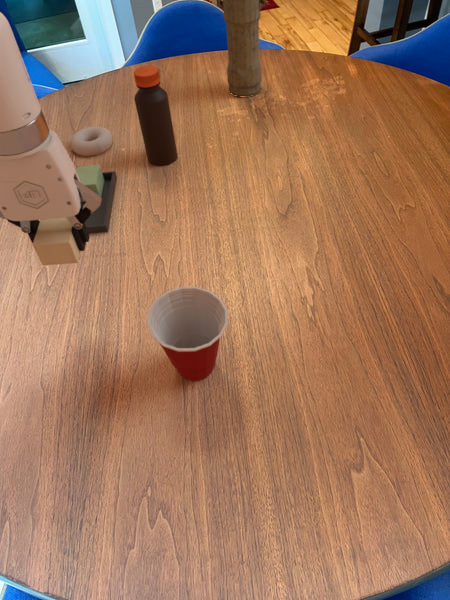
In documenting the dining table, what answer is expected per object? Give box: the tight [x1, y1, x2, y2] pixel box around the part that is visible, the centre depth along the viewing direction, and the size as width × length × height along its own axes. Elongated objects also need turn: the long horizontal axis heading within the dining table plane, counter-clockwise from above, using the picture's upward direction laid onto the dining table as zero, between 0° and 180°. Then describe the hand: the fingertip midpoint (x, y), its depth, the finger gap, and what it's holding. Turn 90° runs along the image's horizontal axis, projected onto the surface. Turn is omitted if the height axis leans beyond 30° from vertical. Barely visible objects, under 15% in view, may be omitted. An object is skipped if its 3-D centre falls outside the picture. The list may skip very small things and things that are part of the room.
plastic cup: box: [146, 286, 229, 382], centre depth 67 cm, size 11×11×12 cm
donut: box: [69, 125, 114, 157], centre depth 113 cm, size 10×3×10 cm
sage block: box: [75, 164, 104, 202], centre depth 100 cm, size 5×7×4 cm
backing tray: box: [80, 170, 118, 235], centre depth 98 cm, size 10×18×2 cm, turn 3°
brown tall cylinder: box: [216, 0, 267, 97], centre depth 115 cm, size 9×12×35 cm
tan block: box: [32, 218, 81, 266], centre depth 68 cm, size 5×7×4 cm
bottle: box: [133, 65, 178, 167], centre depth 101 cm, size 7×7×20 cm
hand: (63, 244), depth 69 cm, fingers closed on tan block, 5 cm apart
